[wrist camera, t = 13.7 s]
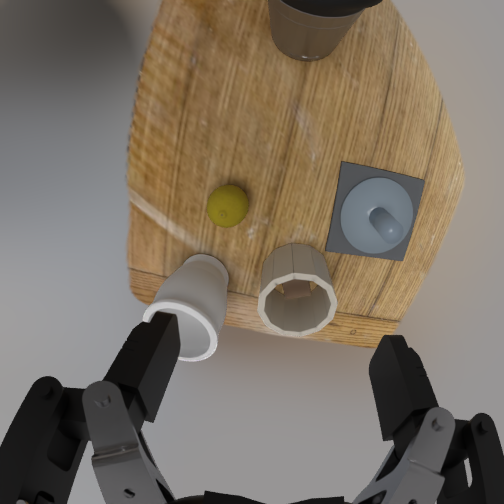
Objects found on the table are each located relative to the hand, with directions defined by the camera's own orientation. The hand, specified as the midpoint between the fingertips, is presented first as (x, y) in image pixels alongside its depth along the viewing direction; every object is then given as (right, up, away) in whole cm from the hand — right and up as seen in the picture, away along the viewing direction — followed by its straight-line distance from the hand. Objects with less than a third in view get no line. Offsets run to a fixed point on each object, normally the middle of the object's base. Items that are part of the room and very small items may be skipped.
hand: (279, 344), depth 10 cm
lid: (+18, +9, +28) cm, 35 cm away
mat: (+18, +9, +29) cm, 35 cm away
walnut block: (+6, 0, +35) cm, 35 cm away
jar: (-9, 0, +37) cm, 38 cm away
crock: (+6, 0, +35) cm, 35 cm away
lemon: (-4, +11, +30) cm, 33 cm away
